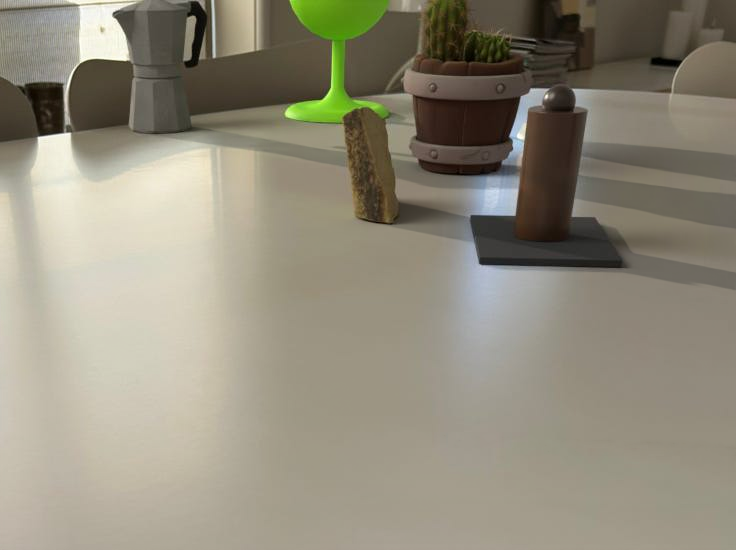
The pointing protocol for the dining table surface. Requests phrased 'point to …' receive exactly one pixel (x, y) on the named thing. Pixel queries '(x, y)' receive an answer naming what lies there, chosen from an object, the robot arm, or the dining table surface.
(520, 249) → the mat
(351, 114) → the rock
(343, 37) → the wineglass
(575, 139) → the pepper mill
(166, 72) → the coffeepot
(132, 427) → the dining table surface
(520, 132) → the white bowl
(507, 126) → the flowerpot
